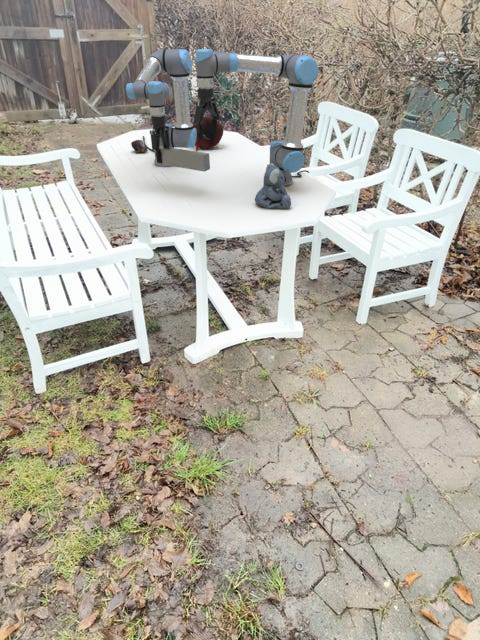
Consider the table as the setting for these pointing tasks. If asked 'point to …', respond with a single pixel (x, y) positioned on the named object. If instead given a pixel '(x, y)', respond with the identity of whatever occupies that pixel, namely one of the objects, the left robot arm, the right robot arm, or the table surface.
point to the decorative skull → (208, 134)
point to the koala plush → (273, 190)
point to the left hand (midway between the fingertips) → (162, 161)
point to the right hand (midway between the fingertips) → (207, 136)
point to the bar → (184, 158)
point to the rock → (138, 146)
